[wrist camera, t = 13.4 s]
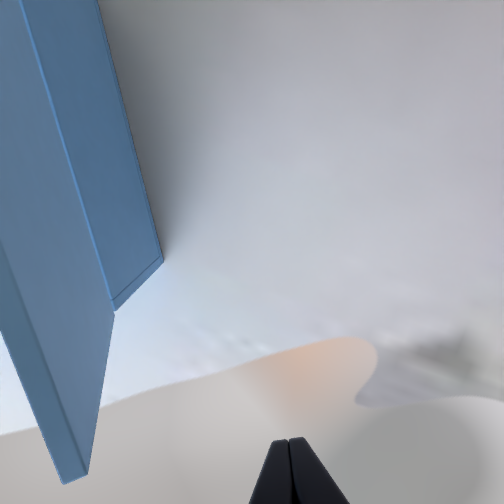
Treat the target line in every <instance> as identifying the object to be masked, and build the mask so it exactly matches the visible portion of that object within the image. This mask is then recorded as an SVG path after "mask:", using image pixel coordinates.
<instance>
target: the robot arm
mask: <svg viewBox="0 0 504 504" xmlns="http://www.w3.org/2000/svg"><path fill="white" fill-rule="evenodd" d="M249 504H350V503H349V502H348V501H347V499H346V498H345V496H344V495H343V493H342V492H341V490H340V489H339V488H338V486H337V485H336V483H335V482H334V480H333V479H332V477H331V476H330V475H329V473H328V471H327V470H326V469H325V467H324V466H323V464H322V463H321V461H320V460H319V458H318V457H317V456H316V454H315V453H314V451H313V450H312V449H311V447H310V445H309V444H308V442H307V441H306V440H305V438H303V437H298V438H291V439H289V443H288V441H287V440H286V439H284V440H276V441H273V442H272V443H271V446H270V449H269V451H268V454H267V456H266V459H265V462H264V464H263V467H262V470H261V472H260V475H259V478H258V480H257V483H256V486H255V488H254V491H253V494H252V496H251V499H250V502H249Z"/></svg>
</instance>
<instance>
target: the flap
mask: <svg viewBox="0 0 504 504" xmlns="http://www.w3.org/2000/svg"><path fill="white" fill-rule="evenodd" d="M114 316H115V315H114V311H113V308H112V305H111V302H110V298H109V295H108V292H107V289H106V285H105V282H104V279H103V276H102V272H101V269H100V266H99V262H98V259H97V256H96V253H95V249H94V246H93V243H92V240H91V236H90V233H89V230H88V226H87V223H86V220H85V217H84V213H83V210H82V207H81V204H80V200H79V197H78V194H77V191H76V187H75V184H74V181H73V177H72V174H71V171H70V168H69V164H68V161H67V158H66V155H65V151H64V148H63V145H62V141H61V138H60V135H59V132H58V128H57V125H56V122H55V119H54V115H53V112H52V109H51V106H50V102H49V99H48V96H47V92H46V89H45V86H44V83H43V79H42V76H41V73H40V70H39V66H38V63H37V60H36V56H35V53H34V50H33V47H32V43H31V40H30V37H29V34H28V30H27V27H26V24H25V21H24V17H23V14H22V11H21V7H20V4H19V1H18V0H0V331H1V334H2V336H3V339H4V341H5V344H6V346H7V349H8V351H9V354H10V356H11V359H12V361H13V364H14V366H15V369H16V371H17V374H18V376H19V379H20V381H21V384H22V386H23V389H24V391H25V393H26V396H27V398H28V401H29V403H30V406H31V408H32V411H33V413H34V416H35V418H36V421H37V423H38V426H39V428H40V431H41V433H42V436H43V438H44V441H45V443H46V446H47V448H48V450H49V453H50V455H51V458H52V460H53V463H54V465H55V468H56V470H57V473H58V475H59V478H60V480H61V483H62V484H63V485H64V484H67V483H70V482H72V481H75V480H77V479H79V478H82V477H84V476H86V475H87V474H88V470H89V464H90V458H91V452H92V446H93V440H94V434H95V429H96V423H97V417H98V411H99V405H100V399H101V393H102V387H103V381H104V376H105V370H106V364H107V358H108V352H109V346H110V340H111V334H112V328H113V322H114Z"/></svg>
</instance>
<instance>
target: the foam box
mask: <svg viewBox="0 0 504 504" xmlns="http://www.w3.org/2000/svg"><path fill="white" fill-rule="evenodd" d="M18 1H19V4H20V7H21V11H22V14H23V17H24V21H25V24H26V27H27V30H28V34H29V37H30V40H31V43H32V47H33V50H34V53H35V56H36V60H37V63H38V66H39V70H40V73H41V76H42V79H43V83H44V86H45V89H46V92H47V96H48V99H49V102H50V106H51V109H52V112H53V115H54V119H55V122H56V125H57V128H58V132H59V135H60V138H61V141H62V145H63V148H64V151H65V155H66V158H67V161H68V164H69V168H70V171H71V174H72V177H73V181H74V184H75V187H76V191H77V194H78V197H79V200H80V204H81V207H82V210H83V213H84V217H85V220H86V223H87V226H88V230H89V233H90V236H91V240H92V243H93V246H94V249H95V253H96V256H97V259H98V262H99V266H100V269H101V272H102V276H103V279H104V282H105V285H106V289H107V292H108V295H109V298H110V302H111V305H112V308H113V311H117V310H118V309H119V307H120V306H121V305H122V304H123V303H124V302H125V301H126V300H127V299H128V298H129V297H130V296H131V295H132V294H133V293H134V292H135V291H136V290H137V289H138V288H139V287H140V286H141V285H142V284H143V283H144V282H145V281H146V280H147V279H148V278H149V277H150V276H151V275H152V274H153V273H154V272H155V271H156V270H157V269H158V268H159V267H160V266H161V264H163V263H164V261H163V257H162V253H161V249H160V245H159V241H158V237H157V233H156V229H155V226H154V222H153V218H152V214H151V210H150V206H149V202H148V198H147V194H146V190H145V186H144V182H143V179H142V175H141V171H140V167H139V163H138V159H137V155H136V151H135V147H134V143H133V139H132V135H131V132H130V128H129V124H128V120H127V116H126V112H125V108H124V104H123V100H122V96H121V92H120V88H119V84H118V81H117V77H116V73H115V69H114V65H113V61H112V57H111V53H110V49H109V45H108V41H107V37H106V34H105V30H104V26H103V22H102V18H101V14H100V10H99V6H98V2H97V0H18Z"/></svg>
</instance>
